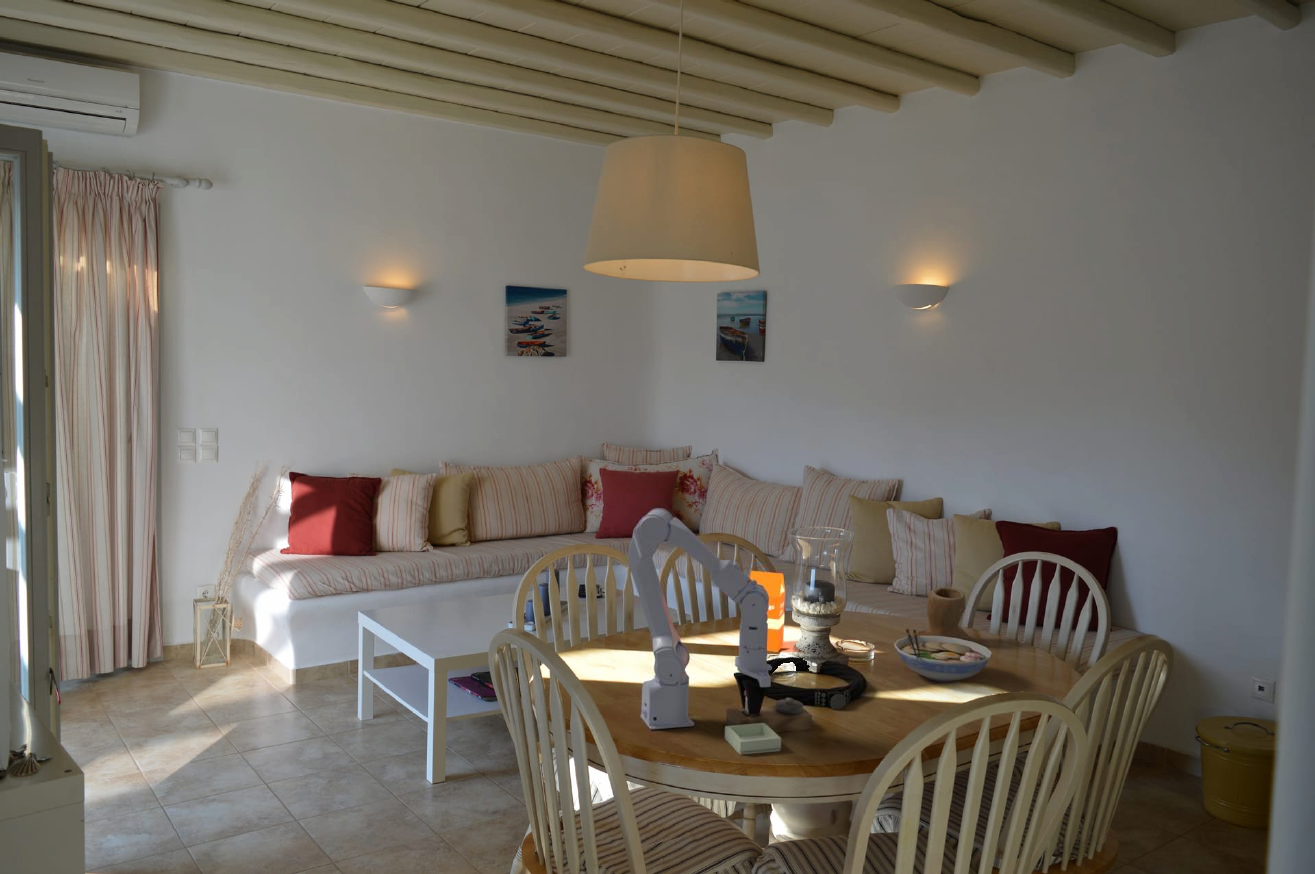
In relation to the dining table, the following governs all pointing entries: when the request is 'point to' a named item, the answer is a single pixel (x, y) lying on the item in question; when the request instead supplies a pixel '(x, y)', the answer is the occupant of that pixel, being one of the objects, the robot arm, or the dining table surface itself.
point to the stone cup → (945, 613)
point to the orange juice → (773, 606)
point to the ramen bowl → (942, 656)
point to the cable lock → (817, 696)
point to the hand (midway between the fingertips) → (751, 710)
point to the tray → (752, 738)
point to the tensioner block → (774, 716)
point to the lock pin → (747, 707)
